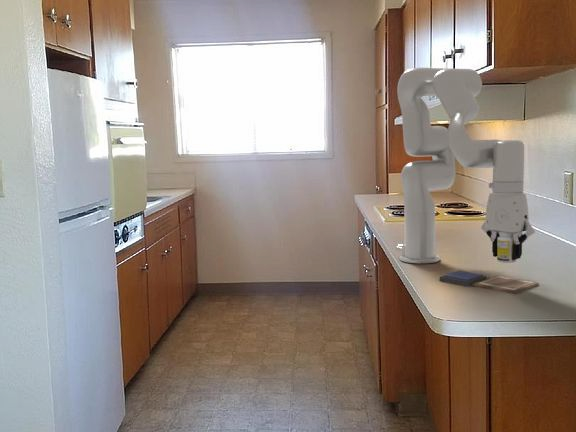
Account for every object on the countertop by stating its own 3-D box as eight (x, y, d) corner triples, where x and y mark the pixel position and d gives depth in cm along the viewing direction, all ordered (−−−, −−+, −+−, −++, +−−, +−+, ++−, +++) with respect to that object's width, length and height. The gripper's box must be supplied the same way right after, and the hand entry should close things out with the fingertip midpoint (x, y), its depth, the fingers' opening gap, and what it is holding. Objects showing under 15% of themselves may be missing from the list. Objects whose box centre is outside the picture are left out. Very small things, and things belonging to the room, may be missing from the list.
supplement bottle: (512, 259, 162) (512, 228, 161) (519, 262, 158) (520, 230, 157) (494, 259, 162) (494, 228, 161) (501, 263, 158) (501, 231, 157)
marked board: (473, 285, 162) (473, 283, 162) (496, 277, 170) (496, 275, 169) (515, 293, 153) (515, 291, 153) (538, 285, 161) (538, 282, 160)
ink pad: (439, 280, 168) (439, 275, 168) (458, 275, 174) (458, 269, 173) (468, 286, 161) (468, 280, 161) (486, 280, 167) (486, 274, 167)
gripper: (470, 187, 162) (470, 255, 164) (532, 190, 149) (530, 263, 151) (486, 185, 166) (485, 251, 169) (546, 188, 154) (545, 259, 156)
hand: (506, 256), depth 160 cm, fingers closed on supplement bottle, 4 cm apart
